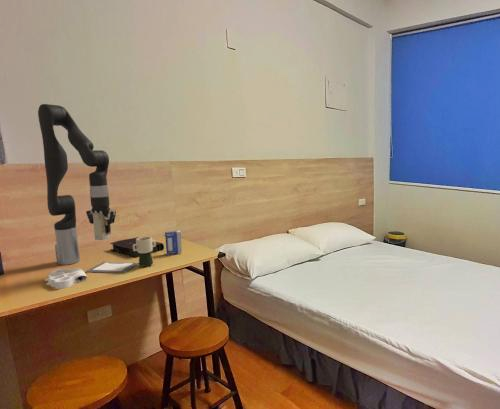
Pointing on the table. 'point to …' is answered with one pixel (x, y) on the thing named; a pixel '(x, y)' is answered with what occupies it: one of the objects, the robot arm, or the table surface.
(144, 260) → the character mug
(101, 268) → the notepad
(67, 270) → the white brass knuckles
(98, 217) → the skincare box
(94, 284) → the table surface
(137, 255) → the diary
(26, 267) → the table surface
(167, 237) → the walkman
